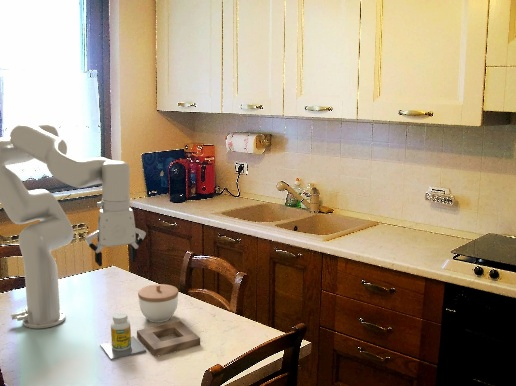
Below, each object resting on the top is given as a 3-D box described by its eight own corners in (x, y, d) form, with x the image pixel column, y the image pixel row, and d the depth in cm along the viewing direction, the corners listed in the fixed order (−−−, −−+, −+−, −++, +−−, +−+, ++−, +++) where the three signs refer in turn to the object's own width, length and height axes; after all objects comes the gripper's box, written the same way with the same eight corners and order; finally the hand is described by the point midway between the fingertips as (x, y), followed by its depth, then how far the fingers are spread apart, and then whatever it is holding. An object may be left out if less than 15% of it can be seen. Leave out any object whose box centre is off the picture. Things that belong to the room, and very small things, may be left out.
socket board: (154, 356, 157) (154, 349, 156) (137, 337, 168) (136, 330, 168) (200, 345, 164) (200, 338, 163) (180, 327, 175) (180, 320, 175)
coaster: (111, 360, 154) (110, 358, 154) (100, 346, 162) (100, 344, 162) (146, 351, 159) (145, 349, 159) (133, 338, 168) (133, 336, 168)
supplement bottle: (127, 341, 164) (126, 310, 162) (134, 348, 160) (133, 316, 158) (109, 345, 161) (107, 314, 160) (115, 353, 157) (114, 320, 155)
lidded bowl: (159, 307, 191) (158, 275, 189) (186, 316, 184) (186, 283, 182) (130, 319, 181) (129, 286, 179) (158, 329, 174) (158, 295, 171)
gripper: (88, 210, 152) (88, 270, 156) (149, 205, 161) (149, 263, 164) (81, 204, 158) (82, 262, 162) (141, 200, 167) (141, 255, 171)
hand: (116, 262), depth 163 cm, fingers open, 9 cm apart
